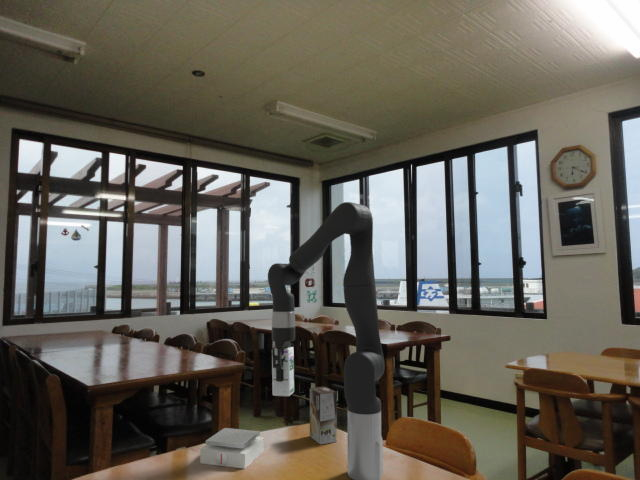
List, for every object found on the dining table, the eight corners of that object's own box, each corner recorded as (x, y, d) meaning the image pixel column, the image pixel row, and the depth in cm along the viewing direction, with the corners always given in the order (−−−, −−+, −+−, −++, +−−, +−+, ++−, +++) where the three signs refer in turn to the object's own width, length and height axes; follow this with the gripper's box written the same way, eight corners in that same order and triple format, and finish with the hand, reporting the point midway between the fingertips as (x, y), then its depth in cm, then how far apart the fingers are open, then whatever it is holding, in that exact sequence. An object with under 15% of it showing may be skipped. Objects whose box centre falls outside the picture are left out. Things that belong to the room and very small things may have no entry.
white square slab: (263, 450, 139) (264, 437, 140) (243, 469, 125) (244, 454, 125) (222, 446, 143) (223, 433, 143) (198, 464, 129) (199, 449, 129)
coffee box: (337, 442, 147) (337, 391, 148) (319, 445, 144) (320, 393, 146) (325, 433, 155) (325, 385, 157) (308, 436, 153) (308, 387, 154)
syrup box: (289, 396, 139) (289, 348, 140) (271, 395, 140) (271, 348, 142) (294, 392, 145) (294, 346, 146) (276, 391, 146) (277, 345, 147)
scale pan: (259, 434, 139) (259, 431, 139) (243, 448, 127) (243, 444, 128) (224, 431, 142) (224, 427, 142) (205, 444, 131) (205, 440, 131)
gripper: (287, 328, 137) (287, 384, 135) (301, 323, 150) (301, 375, 149) (264, 327, 138) (263, 383, 137) (280, 323, 152) (280, 374, 151)
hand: (283, 379), depth 143 cm, fingers closed on syrup box, 6 cm apart
